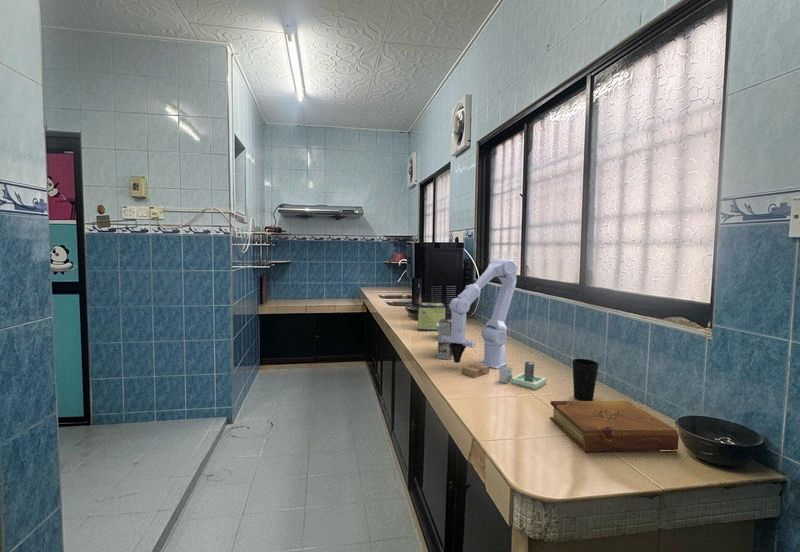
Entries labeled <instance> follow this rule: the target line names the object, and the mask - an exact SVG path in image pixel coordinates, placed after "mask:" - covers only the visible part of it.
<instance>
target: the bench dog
mask: <svg viewBox="0 0 800 552" xmlns="http://www.w3.org/2000/svg"><path fill="white" fill-rule="evenodd" d="M511 378H513V367H512V366H506V365H504V366H502V367H500V368H499V377H498V382H499V383H502V384H505V385H508V384H509V383H511Z"/></svg>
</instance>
